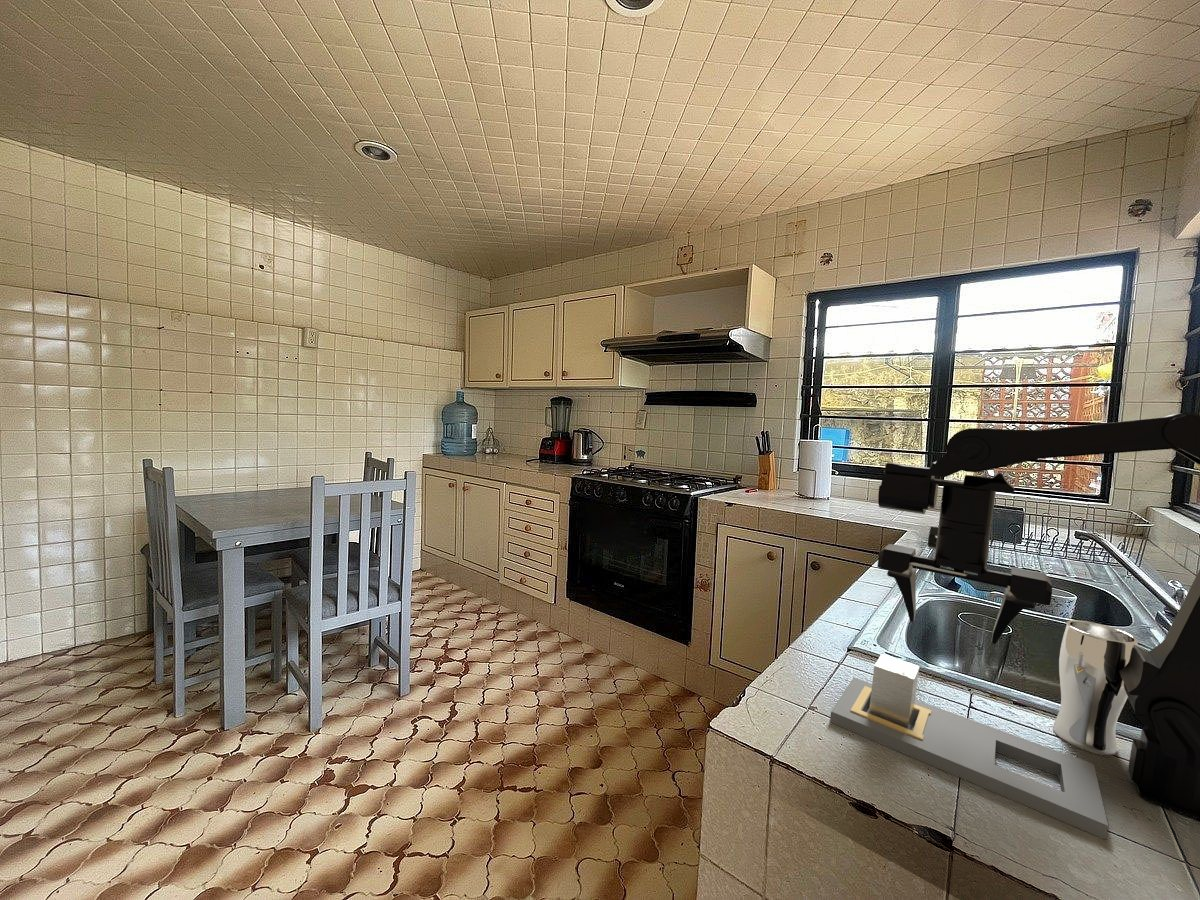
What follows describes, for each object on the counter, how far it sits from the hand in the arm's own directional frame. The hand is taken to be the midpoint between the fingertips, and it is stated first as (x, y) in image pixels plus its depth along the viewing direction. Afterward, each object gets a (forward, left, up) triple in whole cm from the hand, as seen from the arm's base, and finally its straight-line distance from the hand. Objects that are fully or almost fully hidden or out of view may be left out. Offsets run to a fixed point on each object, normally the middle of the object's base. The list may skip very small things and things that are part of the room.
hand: (951, 631), depth 69 cm
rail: (-2, +8, -12) cm, 14 cm away
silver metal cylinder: (-15, -7, -12) cm, 21 cm away
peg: (+5, +8, -12) cm, 15 cm away
